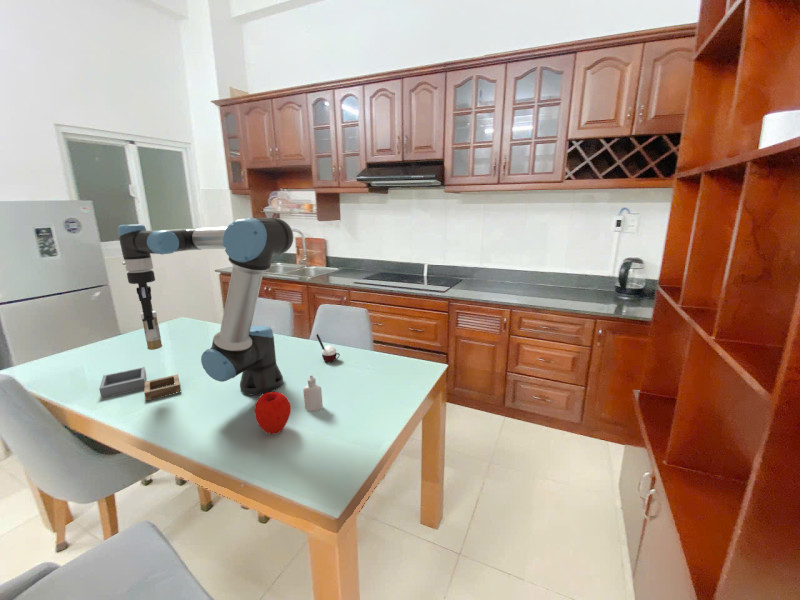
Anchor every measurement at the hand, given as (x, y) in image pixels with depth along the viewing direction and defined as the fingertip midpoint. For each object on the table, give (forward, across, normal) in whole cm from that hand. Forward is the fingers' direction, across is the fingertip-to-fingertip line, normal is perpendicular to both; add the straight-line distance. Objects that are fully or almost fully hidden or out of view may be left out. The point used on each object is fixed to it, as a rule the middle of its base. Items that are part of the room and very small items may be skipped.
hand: (152, 335), depth 126 cm
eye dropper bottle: (+22, +45, +41) cm, 65 cm away
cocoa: (+22, +11, +61) cm, 66 cm away
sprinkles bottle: (+5, 0, 0) cm, 5 cm away
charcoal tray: (+21, -13, -12) cm, 28 cm away
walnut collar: (+22, 0, 0) cm, 22 cm away
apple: (+22, +50, +27) cm, 61 cm away
